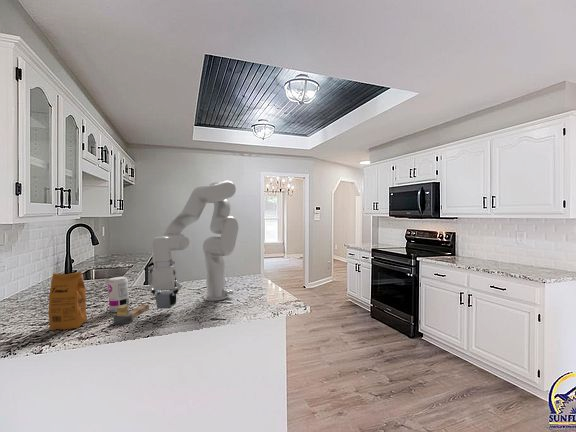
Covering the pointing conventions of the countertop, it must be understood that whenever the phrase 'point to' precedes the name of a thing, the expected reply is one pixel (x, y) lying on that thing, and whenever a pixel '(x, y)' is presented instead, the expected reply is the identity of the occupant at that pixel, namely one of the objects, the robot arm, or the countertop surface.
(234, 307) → the countertop surface
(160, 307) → the blue gray cube
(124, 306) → the wooden handled hammer
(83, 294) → the coffee package
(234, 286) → the countertop surface
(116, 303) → the supplement can
